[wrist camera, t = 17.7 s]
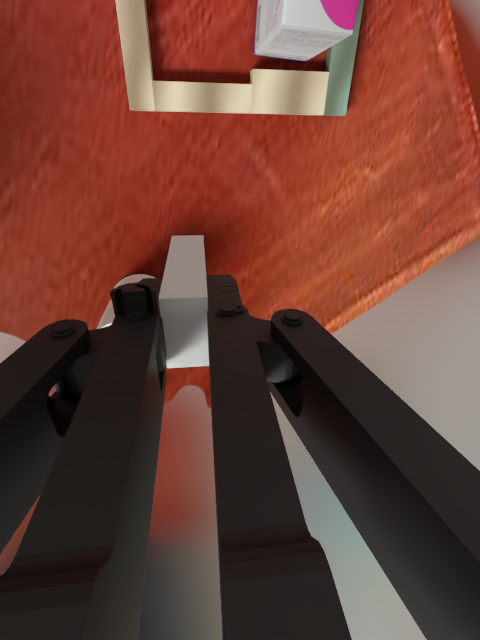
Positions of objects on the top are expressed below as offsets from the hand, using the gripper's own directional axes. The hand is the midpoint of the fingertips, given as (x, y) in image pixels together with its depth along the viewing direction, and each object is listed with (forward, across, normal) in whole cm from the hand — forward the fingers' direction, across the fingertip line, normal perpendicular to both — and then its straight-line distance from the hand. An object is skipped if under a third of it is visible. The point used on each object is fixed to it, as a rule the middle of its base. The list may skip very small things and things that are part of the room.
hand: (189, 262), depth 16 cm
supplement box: (+27, +10, +15) cm, 32 cm away
